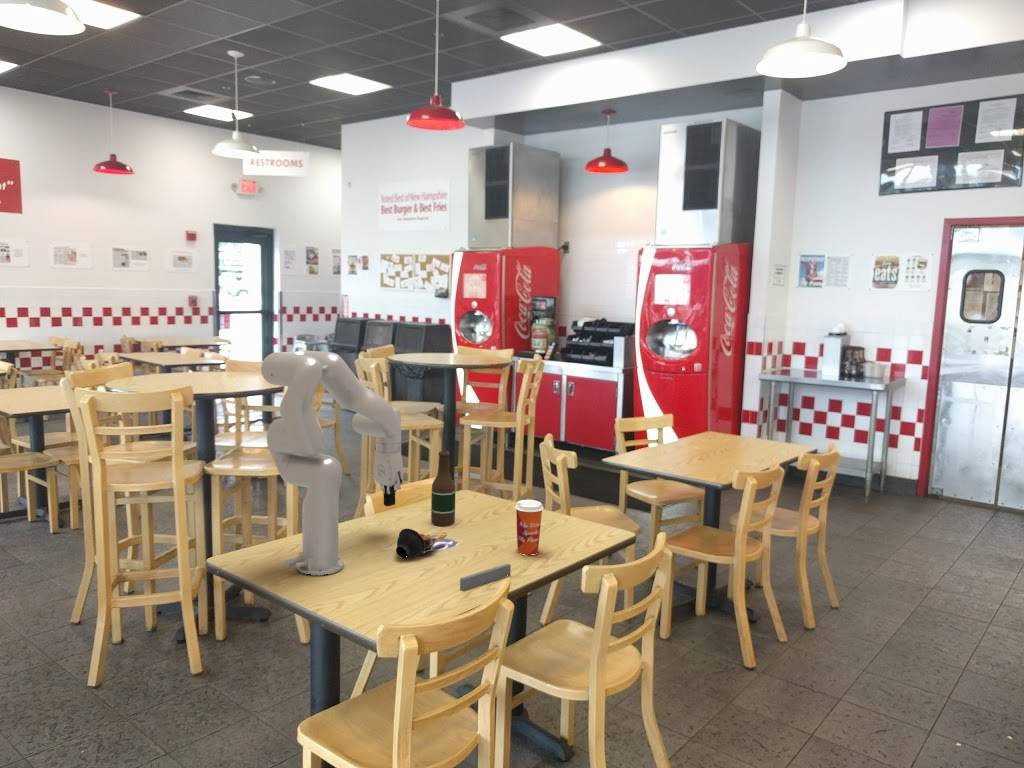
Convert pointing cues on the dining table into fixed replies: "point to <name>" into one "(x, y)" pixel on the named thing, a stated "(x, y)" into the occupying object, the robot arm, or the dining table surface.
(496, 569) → the rail
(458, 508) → the dining table surface
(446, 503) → the beer bottle
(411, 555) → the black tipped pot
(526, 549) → the coffee cup
